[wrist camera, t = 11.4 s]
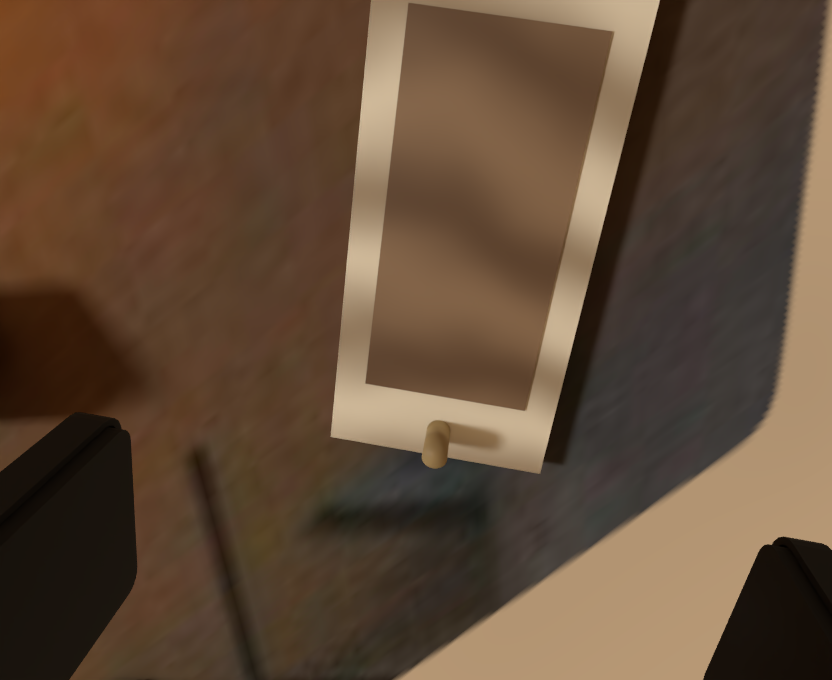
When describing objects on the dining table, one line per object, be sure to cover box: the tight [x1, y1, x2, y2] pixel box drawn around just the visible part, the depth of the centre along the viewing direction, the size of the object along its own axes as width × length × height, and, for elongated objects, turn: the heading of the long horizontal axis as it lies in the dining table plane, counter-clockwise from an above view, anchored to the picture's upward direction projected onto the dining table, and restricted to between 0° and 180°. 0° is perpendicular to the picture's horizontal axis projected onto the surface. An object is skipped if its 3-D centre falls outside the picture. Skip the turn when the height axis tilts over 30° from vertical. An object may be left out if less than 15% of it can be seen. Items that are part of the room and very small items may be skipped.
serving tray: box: [331, 0, 660, 474], centre depth 28 cm, size 24×11×4 cm, turn 172°
